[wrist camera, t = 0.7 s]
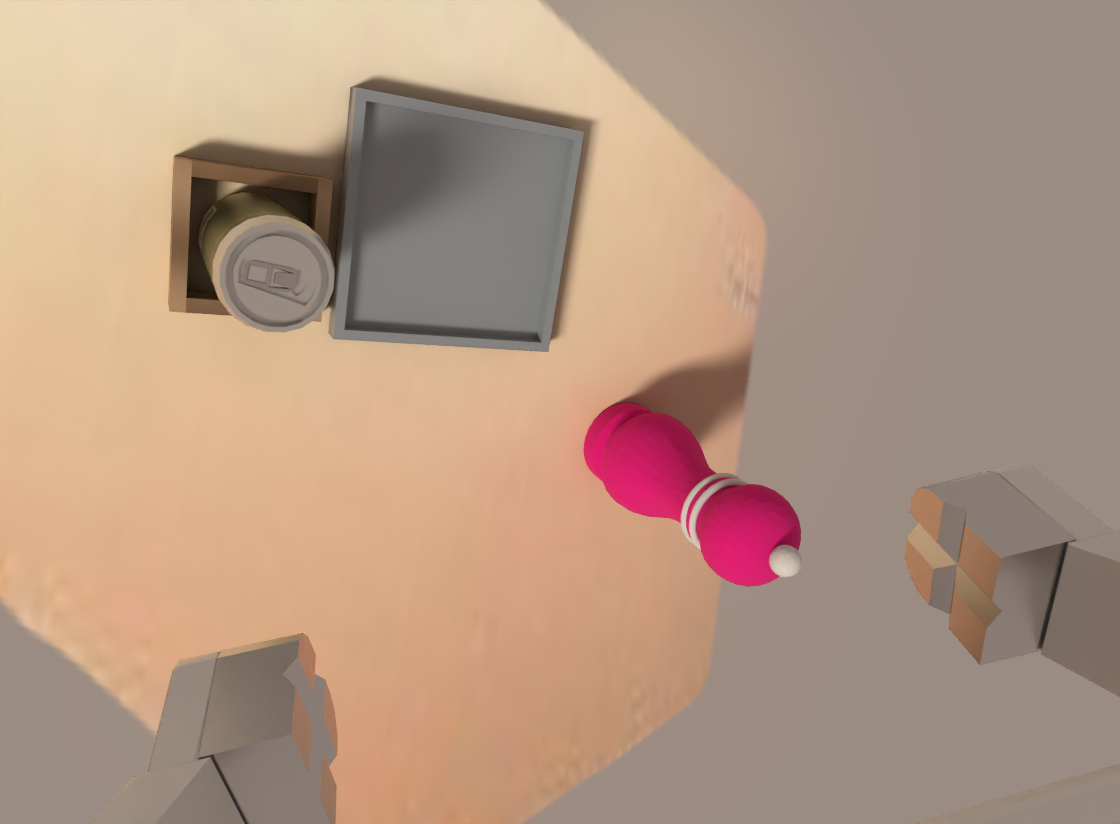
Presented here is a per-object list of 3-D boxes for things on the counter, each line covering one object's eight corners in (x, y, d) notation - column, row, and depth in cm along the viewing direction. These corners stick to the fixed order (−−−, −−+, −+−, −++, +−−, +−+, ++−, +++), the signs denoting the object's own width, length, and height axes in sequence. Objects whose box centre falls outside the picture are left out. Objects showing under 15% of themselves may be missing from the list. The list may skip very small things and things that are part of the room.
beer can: (189, 275, 47) (203, 325, 37) (206, 179, 46) (226, 203, 36) (287, 295, 50) (325, 346, 40) (306, 204, 49) (350, 234, 39)
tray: (350, 87, 48) (356, 87, 47) (573, 130, 54) (584, 131, 53) (328, 333, 52) (333, 339, 50) (539, 346, 58) (548, 351, 57)
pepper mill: (625, 376, 62) (808, 483, 45) (678, 434, 66) (866, 552, 49) (558, 449, 61) (718, 585, 44) (615, 503, 65) (783, 647, 48)
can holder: (173, 155, 45) (175, 158, 43) (326, 177, 49) (333, 180, 47) (168, 303, 47) (169, 311, 46) (314, 314, 51) (321, 321, 49)
